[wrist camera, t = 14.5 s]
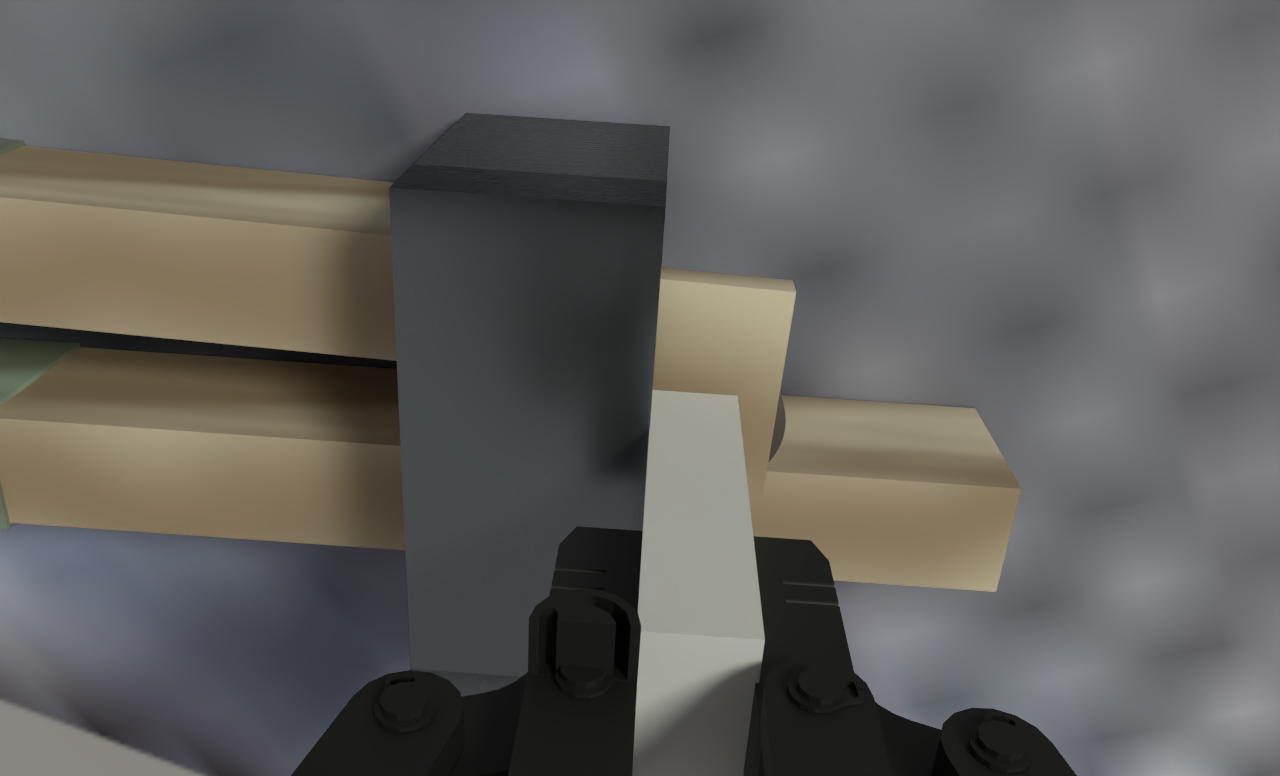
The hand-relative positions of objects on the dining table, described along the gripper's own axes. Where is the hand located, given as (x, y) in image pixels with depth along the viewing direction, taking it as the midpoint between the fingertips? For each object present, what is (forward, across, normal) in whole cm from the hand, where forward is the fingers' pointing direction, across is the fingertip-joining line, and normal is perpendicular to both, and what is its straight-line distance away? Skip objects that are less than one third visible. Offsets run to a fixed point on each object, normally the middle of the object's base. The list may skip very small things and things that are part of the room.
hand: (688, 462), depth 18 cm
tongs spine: (+5, -6, -1) cm, 7 cm away
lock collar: (+5, -3, 0) cm, 5 cm away
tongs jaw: (+5, -8, +1) cm, 10 cm away
